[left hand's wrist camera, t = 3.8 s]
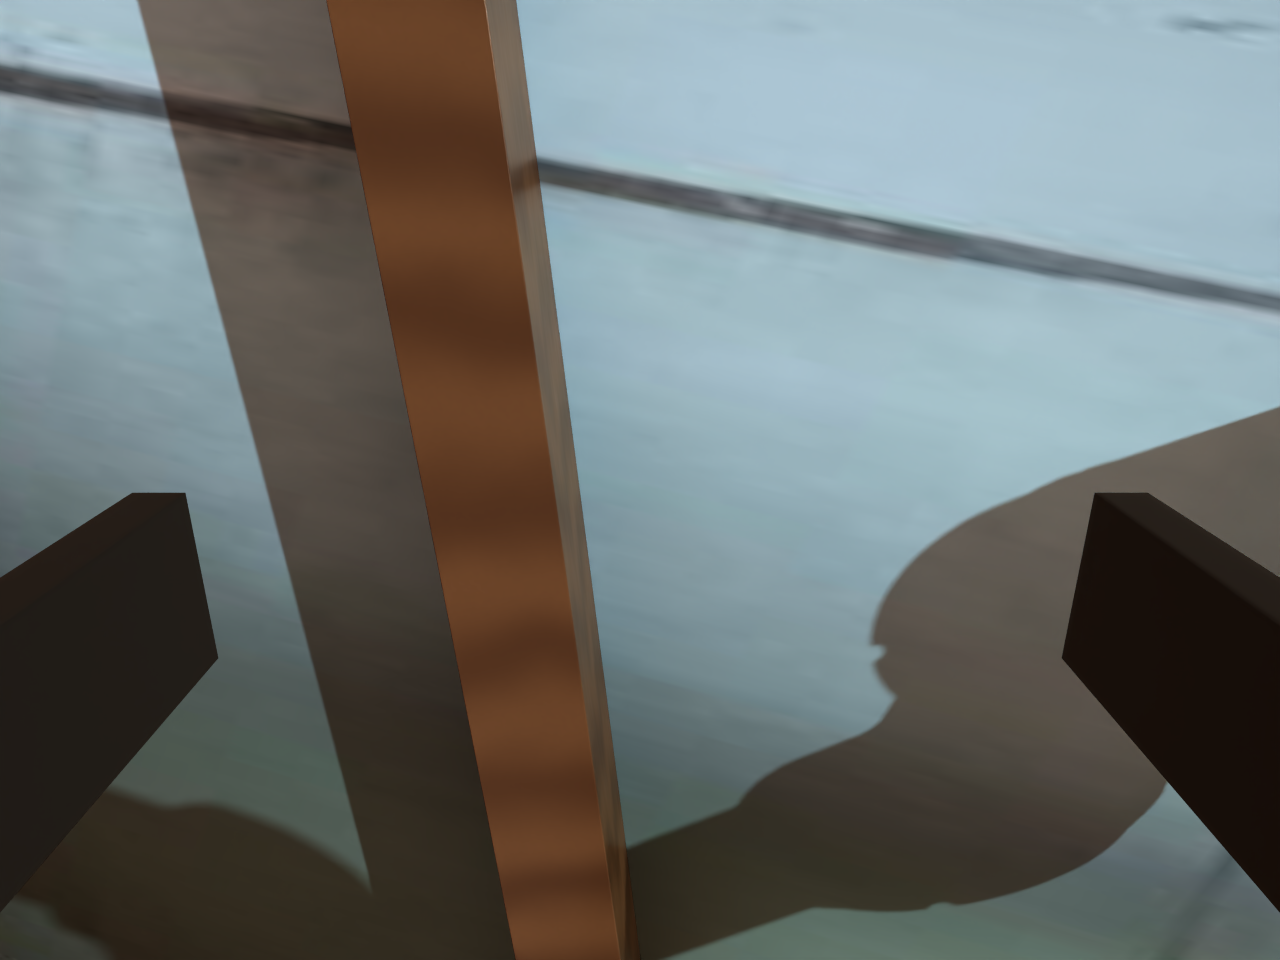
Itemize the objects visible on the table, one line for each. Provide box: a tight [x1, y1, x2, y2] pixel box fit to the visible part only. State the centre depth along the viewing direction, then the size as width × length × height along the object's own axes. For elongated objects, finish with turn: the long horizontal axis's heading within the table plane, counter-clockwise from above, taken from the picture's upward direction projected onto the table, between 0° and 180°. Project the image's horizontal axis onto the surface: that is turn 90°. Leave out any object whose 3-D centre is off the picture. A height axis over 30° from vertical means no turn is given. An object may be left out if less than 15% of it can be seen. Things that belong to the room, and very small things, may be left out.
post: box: [326, 0, 641, 960], centre depth 41 cm, size 81×5×8 cm, turn 6°
